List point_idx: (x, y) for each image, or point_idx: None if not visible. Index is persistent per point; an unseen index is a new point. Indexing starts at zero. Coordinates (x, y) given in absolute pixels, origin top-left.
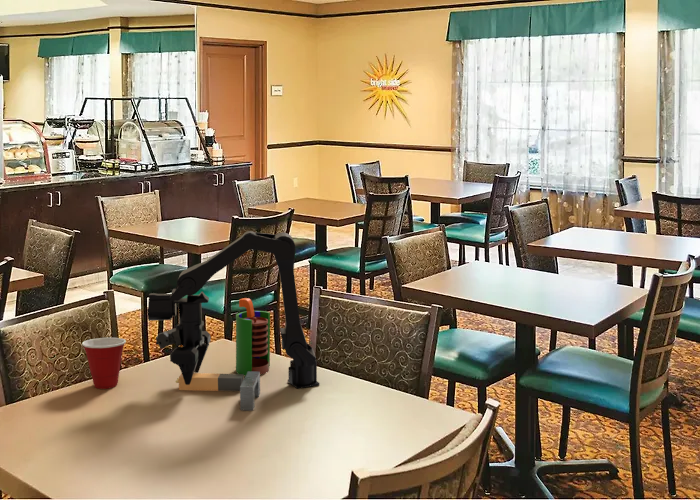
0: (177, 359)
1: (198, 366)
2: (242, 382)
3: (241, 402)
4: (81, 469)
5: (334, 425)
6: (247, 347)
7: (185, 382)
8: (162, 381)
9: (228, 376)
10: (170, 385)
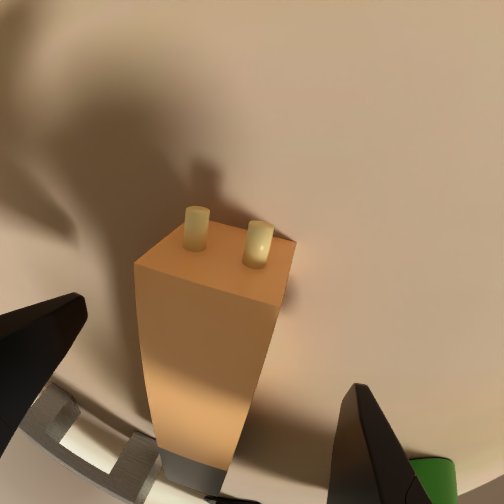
0: None
1: (337, 449)
2: (42, 446)
3: (41, 398)
4: None
5: (65, 442)
6: None
7: (62, 299)
8: (428, 77)
9: (185, 471)
10: (310, 141)
